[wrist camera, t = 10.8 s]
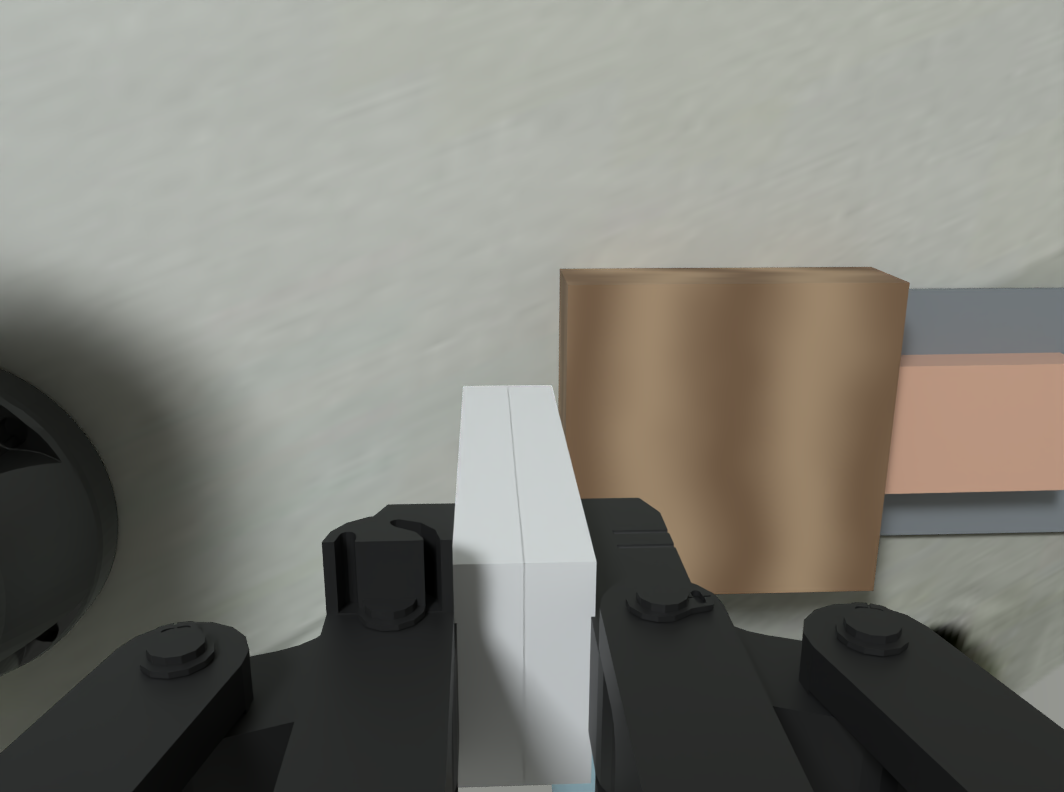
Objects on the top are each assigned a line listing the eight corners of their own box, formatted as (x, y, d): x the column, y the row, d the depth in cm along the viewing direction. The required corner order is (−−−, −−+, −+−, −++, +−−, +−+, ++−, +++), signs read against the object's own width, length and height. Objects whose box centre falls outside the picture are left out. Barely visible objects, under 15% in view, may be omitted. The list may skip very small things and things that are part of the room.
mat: (863, 532, 46) (866, 535, 46) (890, 288, 43) (894, 290, 43) (1140, 526, 47) (1145, 530, 47) (1189, 286, 44) (1195, 288, 43)
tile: (855, 477, 45) (871, 494, 43) (867, 355, 43) (885, 366, 41) (1039, 474, 46) (1064, 489, 44) (1059, 352, 44) (1085, 363, 42)
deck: (556, 556, 46) (563, 597, 42) (559, 268, 42) (567, 285, 38) (841, 551, 47) (873, 590, 43) (871, 267, 43) (909, 282, 39)
